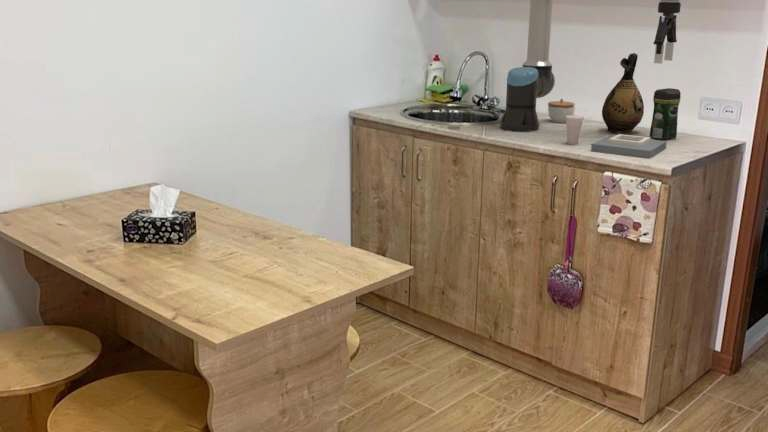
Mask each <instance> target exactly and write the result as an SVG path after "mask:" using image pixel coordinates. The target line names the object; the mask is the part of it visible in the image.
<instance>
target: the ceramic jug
mask: <svg viewBox="0 0 768 432" xmlns="http://www.w3.org/2000/svg"><path fill="white" fill-rule="evenodd" d="M638 56H639V55H638V54H637V53H635V52H633V53H630V54H628V56H627V58H626V57H623V58H622V59H621V60H620V61H619V64H620V66H621V67H622V69H624V71H623V72H624V73H623V75H622V77H621V79H620V80H619V81H618V82H617V83H616V84H615V86H614V87H613V88H612V89H611V90H610V92H609V93H608V94H607V96H606V97H605V100H604V103H603V105H602V109H601V115H602V120H603V122H604V124H605V125H606V128H607V129H606V131H607V132H610V133H612V134H623V135H629V134H630V133H632V132H633V130H634V129H635V128H636V127H637V126H638V125H639V124H640V123H641V121H642V120H643V117H644V114H645V113H644V112H645V105H644V101H643V96H642V94H641V92H640V90H639V88H638V86H637V84H636V82H635V79H634V73H635V70H636V66H637V61H638Z"/></svg>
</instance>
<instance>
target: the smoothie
mask: <svg viewBox="0 0 768 432" xmlns="http://www.w3.org/2000/svg"><path fill="white" fill-rule="evenodd" d="M574 104H575V103H574ZM574 104H573V115H568V116H566V124H565V125H566V141H567V145H578V144H579V139H580V135H581V130H582V125H583V121H584V120H585V118H584V116H582V115H575V110H576V109H575V107H576V105H574Z"/></svg>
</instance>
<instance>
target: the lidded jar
mask: <svg viewBox="0 0 768 432" xmlns="http://www.w3.org/2000/svg"><path fill="white" fill-rule="evenodd" d="M573 104H574V105H575V102H572V101H565V100H564V99H563V98H560V99H559V101H557V100H556V101H554V100H553V101H548V102H547V107H548V108H547V111H548V116H549V118H550V119H551V120H552V122H553V123H559V124H560V123H561V124H562V123H563V124H564V123H566V116H568V115H573ZM575 106H576V105H575Z"/></svg>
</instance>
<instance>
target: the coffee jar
mask: <svg viewBox="0 0 768 432" xmlns="http://www.w3.org/2000/svg"><path fill="white" fill-rule="evenodd" d="M681 95H682V94H681V91H680V89H678V88H677V89H676V88H672V87H671V88H670V87H668V88H659V89H656V90H655V91H654V94H653V98H652V101H653V111H652V118H651V125H650V131H649V138H650V139H652V140H660V141H669V140H673V139H676V138H677V136H678V135H677V134H678V113H679V105H680V103H681Z"/></svg>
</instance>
